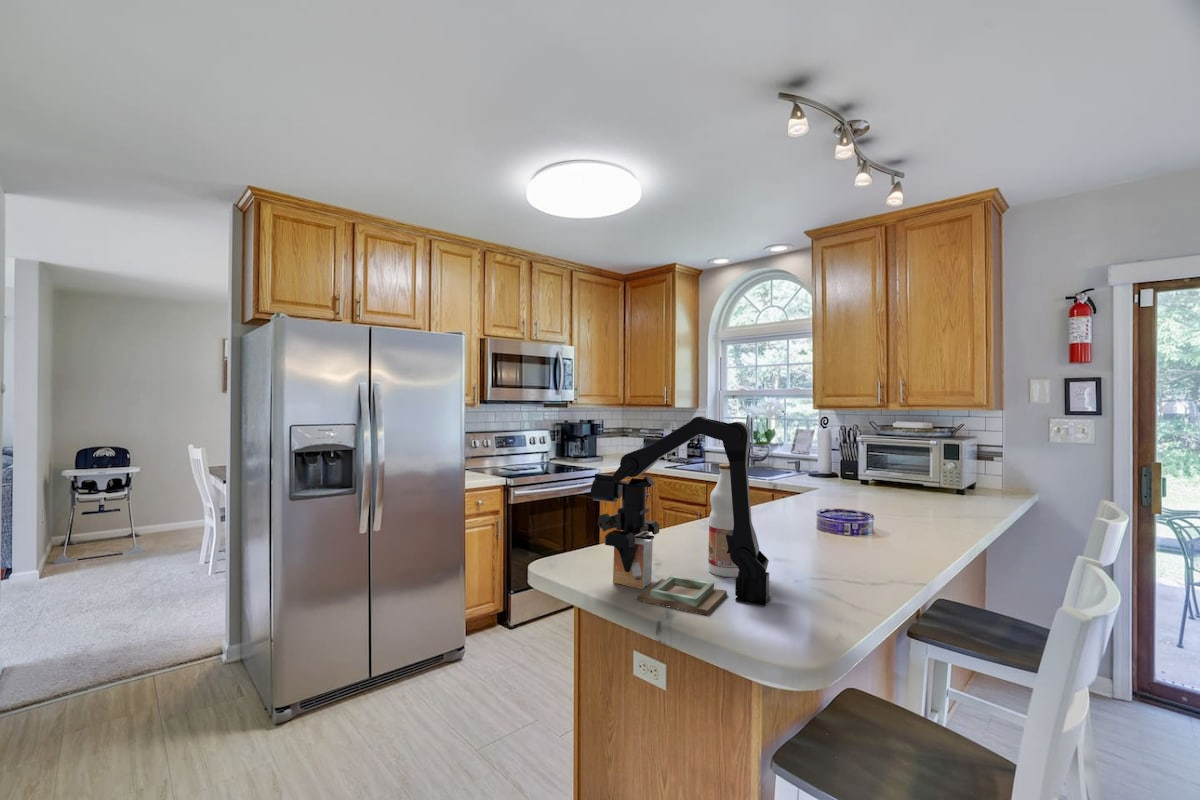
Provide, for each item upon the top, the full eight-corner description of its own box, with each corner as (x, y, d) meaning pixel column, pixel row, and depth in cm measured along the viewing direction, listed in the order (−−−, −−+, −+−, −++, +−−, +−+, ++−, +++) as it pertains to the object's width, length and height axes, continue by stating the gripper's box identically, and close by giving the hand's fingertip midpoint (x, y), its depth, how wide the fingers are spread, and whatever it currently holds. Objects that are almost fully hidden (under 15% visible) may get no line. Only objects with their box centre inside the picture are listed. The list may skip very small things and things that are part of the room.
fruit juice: (730, 580, 138) (732, 467, 138) (700, 571, 145) (702, 463, 145) (752, 573, 144) (754, 465, 144) (723, 564, 151) (725, 461, 151)
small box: (612, 583, 134) (613, 539, 134) (622, 577, 139) (623, 535, 139) (643, 589, 130) (643, 544, 130) (652, 582, 135) (653, 539, 135)
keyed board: (726, 595, 127) (726, 584, 127) (707, 615, 115) (707, 603, 115) (661, 582, 135) (662, 572, 135) (637, 600, 123) (637, 589, 123)
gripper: (621, 495, 146) (620, 554, 146) (585, 506, 130) (584, 573, 130) (660, 499, 141) (659, 561, 141) (628, 511, 125) (627, 581, 125)
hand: (632, 568), depth 134 cm, fingers closed on small box, 6 cm apart
